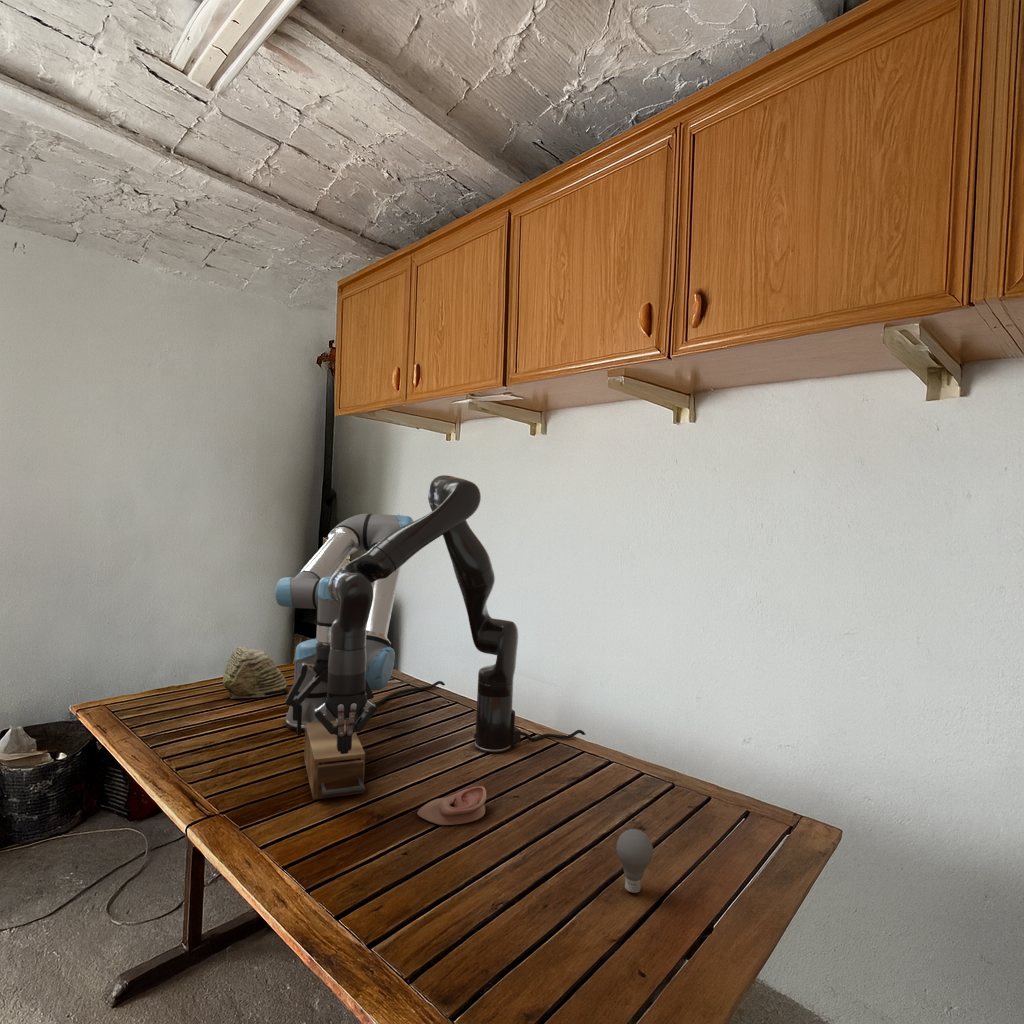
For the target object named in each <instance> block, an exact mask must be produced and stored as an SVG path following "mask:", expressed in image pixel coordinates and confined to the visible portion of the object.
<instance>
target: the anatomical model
mask: <svg viewBox="0 0 1024 1024" xmlns="http://www.w3.org/2000/svg"><path fill="white" fill-rule="evenodd" d="M487 796H488V795H487V789H486V788H485V787H484V786H482V785H477V786H473V787H469V788H466V789H463V790H460V791H457V792H456V793H454V794H451V795H448V796H446V797H440V798H436V799H433V800H430V801H429V802H427V803H426V804H424V805H423V806H421V807H420V808H419V809H418V811H416V812H417V816H418V817H419V818H421V819H423V820H425V821H427V822H429V823H432V824H435V825H439V826H454V825H462V824H468V823H471V822H475V821H477V820H479V819H481V818H483V817H484V815H485V813H486V806H485V803H486V802H487Z"/></svg>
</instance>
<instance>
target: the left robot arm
mask: <svg viewBox="0 0 1024 1024" xmlns="http://www.w3.org/2000/svg"><path fill="white" fill-rule="evenodd" d="M411 522H414V519H413V518H412V517H411V516H409V515H400V514H381V513H380V514H379V513H360V514H355V515H353V516H351V517H348V518H347V519H345V520H342V521H341V522H339V523H338V524H337V525H336V526H335V527H333V528H332V529H331V531H330V532H329V533H328V535H327V540H326V541H325V543H324V544H323V545H322V546H321V547H320V548H319V549H318V551H317V552H316V553H315V554H314V555H313V556H312V557H311V558H310V559H309V560H308V562H307V563H306V564H305V565H304V566H303V568H302V569H300V571H299V572H298V573H297V574H296V575H295V576H294V577H292V576H288V577H282V578H280V579H279V580H278V581H277V583H276V586H275V591H274V597H275V601H276V604H277V605H279V606H280V607H285V608H291V609H308V610H309V609H312V610H314V609H315V610H317V616H316V617H317V621H316V636H315V638H312V639H307V640H304V641H302V642H300V643H298V644H297V645H296V647H295V654H294V659H293V661H294V670H293V671H294V672H293V684H292V685H291V687H290V689H289V691H288V693H287V694H286V696H285V699H284V703H285V705H286V706H289V708H288V711H287V713H286V715H285V726H286V728H287V729H289V730H291V731H294V732H295V731H296V735H297V737H300V736H302V733H305V724H307V723H318V722H320V721H319V720H318V719H317V718H316V716H315V714H314V709H315V708H319V707H320V706H321V705H323V704H324V700H325V698H326V696H327V687H328V661H329V653H330V647H331V646H330V643H331V627H332V623H333V621H334V620H335V619H336V618H339V612H340V603H338V602H336V601H334V600H333V599H332V598H331V597H330V596H329V594H328V583H329V580H330V579H331V577H332V576H333V575H334V574H335V573H336V572H337V571H338V570H339V569H340V568H341V566H342V565H343V563H344V562H345V561H346V560H347V558H348V557H351V556H352V555H354V554H355V553H356V552H361V551H362V552H363V551H364V552H368V551H369V550H370V549H371V548H372V547H374V546H375V545H376V544H377V543H378V542H379V541H381V540H382V539H383V538H384V537H385V536H387V535H388V534H390V533H391V532H393V531H394V530H396V529H398V528H400V527H402V526H404V525H407V524H409V523H411ZM400 571H401V567H400V568H399V569H398V570H396V571H395V572H394V573H393V574H392V575H391V576H389V577H387V578H385V579H379V580H376V581H374V582H373V583H372V585H373V591H374V596H373V603H372V607H371V611H370V615H369V619H368V622H367V625H366V682H365V694H366V696H367V701H369V700H372V699H374V697H375V696H374V694H373V691H379V690H382V689H384V688H386V686H387V685H388V683H389V681H390V680H391V678H392V674H393V671H394V668H395V659H396V653H395V650H394V648H392V647H391V646H392V645H391V644H392V642H391V641H390V640H389V639H388V632H389V628H390V622H391V619H392V618H391V617H392V613H393V607H394V602H395V598H396V597H395V596H396V593H397V586H398V583H399V577H400ZM430 685H431V686H430ZM430 685H426V686H420V687H412V688H405V689H402V690H398V691H395V692H392V693H390V694H387V695H386V696H384V697H383V698H381V699H380V700H378V701H376V702H375V701H374V702H373V703H374V705H375V706H376V707H377V706H380V705H381V704H382V703H384V702H385V701H387V700H388V699H390V698H391V699H392V698H393V697H395V696H398V695H401V694H406V693H410V692H417V691H418V692H419V691H426V690H429V689H433V688H435V687H436V686H438V685H441V686H446V684H445V682H444V681H442V680H437V681H436V682H434V683H432V684H430ZM364 707H365V705H364ZM364 707H363V708H362V710H361V711H360V712H359V714H358V715H357V716H356V717H355V722H356V721H357V720H358V718H359V717H360V716H361V715H362V713H363V712H364ZM326 712H327V715H326V717H327V718H328V719H329V721H336V718H335V717H334V716H333V715H332V714H331V712H330V711H329V710H328V709H326Z"/></svg>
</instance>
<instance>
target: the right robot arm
mask: <svg viewBox="0 0 1024 1024" xmlns="http://www.w3.org/2000/svg"><path fill="white" fill-rule="evenodd" d="M427 500H428V504H429V507H430V510H431V511H430V512H429V513H427V514H426V515H424V516H422V517H419V518H418V519H416V520H413V522H411V523H409V524H407V525H404V526H402V527H400V528H398V529H396V530H394V531H393V532H391V533H390V534H388V535H387V536H385V537H384V538H383V539H382V540H381V541H379V542H378V543H377V544H376V545H375V546H374V547H372V548H371V549H370V550H369V551H366V552H365V553H364V554H361V555H359V556H358V557H356V558H354V559H353V560H351V561H349V562H348V563H346V564H345V565H343V566H342V567H339V569H338V570H337V571H336V572H335V574H334V575H333V576H332V577H331V579H330V580H329V583H328V594H329V596H330V597H331V598H332V599H333V600H334V601H336V602H338V603H340V612H339V618H336V619H335V620H334V621H333V623H332V627H331V643H330V646H331V647H330V653H329V661H328V687H327V696H326V698H325V700H324V704H323V705H321V706H320V707H319V708H315V709H314V714H315V716H316V718H317V719H318V720H319V721H320V722H321V724H322V725H323V726H324V727H325V728H326V729H327V731H328V732H329V733H330V734H335V735H337V750H338V752H339V751H340V754H347V753H348V750H351V748H352V735H353V733H355V732H356V733H357V732H358V733H360V732H361V731H362V730H363V729H364V727H365V726H366V725H367V724H368V722H369V721H370V720H371V718H372V717H373V716H374V714H376V712H377V711H378V708H377V706H375V705H374V703H375V702H370V701H369V700H367V696H366V691H365V682H366V625H367V622H368V619H369V615H370V611H371V607H372V603H373V596H374V591H373V585H372V583H373V582H374V581H376V580H379V579H385V578H387V577H389V576H391V575H392V574H393V573H394V572H395V571H396V570H398V569H399V568H400V569H401V567H403V565H404V564H406V563H407V562H408V561H410V559H411V558H412V557H413V556H415V555H416V554H418V553H419V552H420V551H421V550H422V549H424V548H425V547H427V546H428V545H429V544H431V543H432V542H435V540H437V539H438V538H440V537H441V536H442V537H443V540H444V542H445V546H446V549H447V553H448V555H449V558H450V560H451V564H452V568H453V571H454V572H453V573H454V574H455V578H456V581H457V584H458V587H459V590H460V593H461V595H462V598H463V599H462V600H463V602H464V606H465V609H466V613H467V617H468V618H467V619H468V623H469V629H470V633H471V638H472V642H473V644H474V647H475V649H476V650H477V651H478V652H480V653H483V654H488V655H492V656H496V660H495V663H494V664H489V665H485V666H483V667H480V669H478V674H477V694H476V695H477V698H476V719H475V734H474V735H473V740H475V741H474V747H475V749H477V750H479V751H480V752H484V753H489V754H490V753H491V754H498V753H499V754H500V753H504V752H507V751H509V750H510V749H512V748H514V747H515V746H514V745H515V744H517V743H521V740H522V739H521V738H522V737H521V736H523V737H525V738H526V739H527V740H529V741H530V742H536V741H539V740H541V739H544V738H555V739H562V740H567V739H572V738H574V737H575V736H576V735H578V734H581V735H582V736H586V732H585V731H584V730H582V729H577V730H575V731H573V732H572V733H570V734H555V733H543V734H539V735H537V736H535V737H532V736H530V735H529V733H527V732H523V731H522V730H521V729H519V727H516V726H515V725H516V724H515V723H516V711H515V710H514V709H513V701H514V700H513V697H514V678H515V677H514V676H515V673H516V667H517V658H518V657H517V656H518V648H519V647H518V645H519V629H518V626H517V624H516V623H515V621H511V620H508V619H507V620H506V619H500V618H493V617H492V616H490V613H489V611H488V605H487V603H488V601H489V598H490V596H491V595H492V594H491V593H492V592H493V589H494V586H495V582H496V575H495V570H494V568H493V564H492V560H491V557H490V555H489V553H488V551H487V549H486V547H485V546H484V545H483V543H482V542H481V541H480V539H479V538H478V536H477V535H476V534H475V533H474V531H473V530H472V528H471V527H470V525H469V523H468V521H467V520H468V519H470V518H471V517H472V516H473V515H474V514H475V513H476V512H477V510H478V509H479V507H480V504H481V501H482V496H481V491H480V488H479V487H478V485H477V484H476V483H475V482H472V481H471V480H467V479H464V478H460V477H456V476H453V475H447V474H446V475H444V474H443V475H438V476H436V477H434V478H433V480H432V481H431V482H430V484H429V486H428V490H427ZM364 705H365V707H364ZM363 707H364V712H363V713H362V715H361V716H360V717H359V718H358V720H357V721H356V716H357V715H358V714H359V712H360V711H361V710H362V708H363ZM326 709H328V710H329V711H330V712H331V714H332V715H333V716H334V717H335V718H336V723H337V726H334V725H333V724H332V723H331V722H330V721H329V719H328V718H327V717H326V715H327V712H326ZM344 720H346V726H345V733H344ZM355 721H356V722H355ZM566 735H568V736H566Z"/></svg>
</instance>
